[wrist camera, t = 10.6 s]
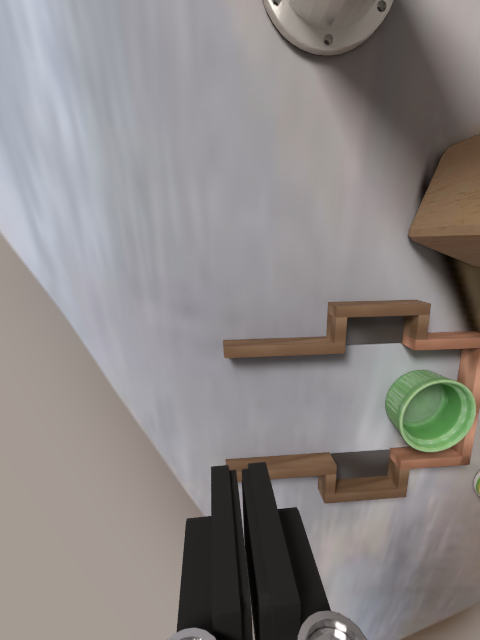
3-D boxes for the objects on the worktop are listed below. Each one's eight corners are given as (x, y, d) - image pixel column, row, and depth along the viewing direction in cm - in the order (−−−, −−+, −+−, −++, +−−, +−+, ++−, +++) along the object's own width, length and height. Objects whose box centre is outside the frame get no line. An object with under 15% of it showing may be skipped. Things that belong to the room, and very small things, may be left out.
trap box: (222, 304, 35) (223, 309, 33) (479, 298, 38) (498, 302, 35) (226, 495, 41) (227, 511, 38) (450, 478, 44) (464, 491, 41)
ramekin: (367, 392, 40) (386, 410, 35) (430, 351, 39) (457, 364, 35) (399, 443, 42) (421, 466, 37) (460, 405, 41) (488, 424, 37)
